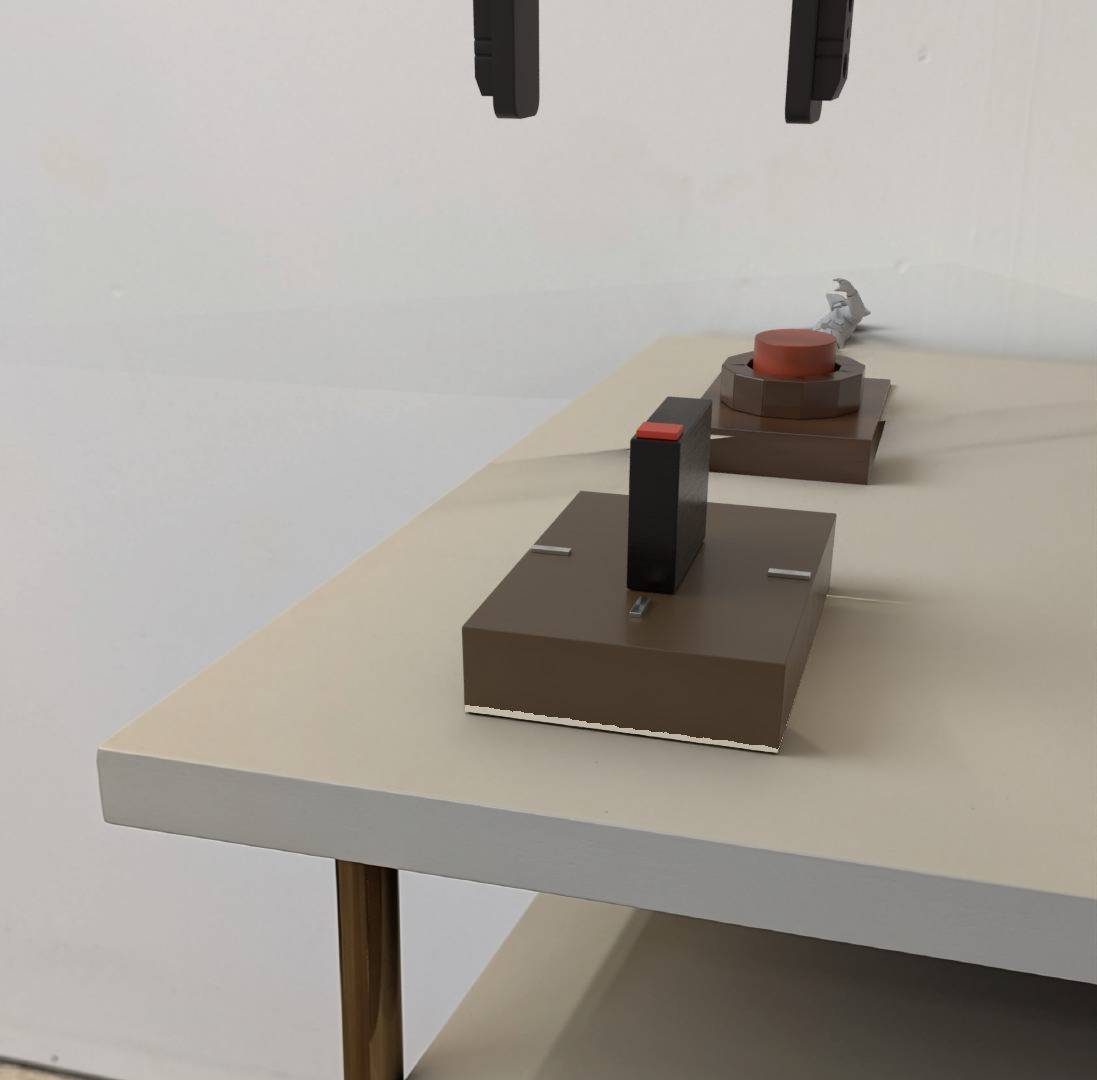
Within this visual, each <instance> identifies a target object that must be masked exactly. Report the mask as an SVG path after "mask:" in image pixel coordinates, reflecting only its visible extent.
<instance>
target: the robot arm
mask: <svg viewBox="0 0 1097 1080" xmlns="http://www.w3.org/2000/svg"><path fill="white" fill-rule="evenodd" d="M854 6H855V0H791V13H790V27H789V29H790V30H789V43H788V56H787V58H788V59H787V70H786V75H787V76H786V87H785V99H784V100H785V101H784V121H785V124H788V125H789V124H790V125H813V124H815V123H817V122H819V121H820V118H821V114H822V109H823V102H831V101H834V100H836V99H839V98H840V95H841V93H842V91H843V89H844V87H845V84H846V82H847V80H848V75H849V65H850V53H851V37H852V30H853V28H852V27H853V18H854ZM472 17H473V19H472V20H473V22H472V23H473V39H474V41H473V53H474V56H473V57H474V60H473V61H474V79H475V82H476V85H477V88H478V90H479V93H480V95H481V97H492V109H493V112H494V115H495V117H496V119H503V120H506V119H508V120H522V119H527V118H531V117H535V116H536V115H537V114H538V112H539V107H540V94H541V93H540V0H472Z"/></svg>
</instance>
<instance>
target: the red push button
mask: <svg viewBox="0 0 1097 1080" xmlns="http://www.w3.org/2000/svg"><path fill="white" fill-rule="evenodd" d="M753 344H754V345H753V351H754V357H753V370H754V371H758V372H763V373H768V374H772V375H786V376H815V375H826V374H829V373H833V372H834V368H835V357H836V355H837V352H836V346H837V338H836V337H835V336H833V335H832V333H831V334H828V333H825V332H820V331H814V330H813V329H803V328H776V329H768V330H764V331H761V332H758V333H756V334H755V337H754V343H753Z"/></svg>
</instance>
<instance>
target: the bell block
mask: <svg viewBox="0 0 1097 1080" xmlns="http://www.w3.org/2000/svg"><path fill="white" fill-rule="evenodd" d="M753 357H754V350H752V351H747V352H742V353H739V354H735V355H730V356H728V357H727V358H726V359H725V360H724V361H723V363H722V364H721V368H720V369H721V370H720V372H719V374H718V375H717V376H716V377H715V379H714V380H713V381H712V383H710V385H709V386H708V388H707V389H706V391H705V392H704V393H703V394H702V396H701V397H700V398H699V399H711V400H712V420H711V435H713V436H722V437H716V438H711V439H710V458H709V473H715V474H725V475H726V474H728V475H740V476H752V477H753V476H754V477H763V478H775V479H789V480H797V481H798V480H800V481H810V482H822V483H823V482H824V483H835V484H846V485H847V484H848V485H857V486H858V485H860V486H867V485H868V484H869V480H870V477H871V474H872V470H873V466H874V463H875V461H876V457H877V453H878V449H879V446H880V443H881V440H882V436H883V432H884V429H885V425H886V422H887V420H881V418H882V417H881V416H882V414H883V410H884V408H885V404H886V401H887V397H888V394H889V392H890V388H891V382H892V380H891V379H888V378H887V379H886V378H874V377H873V378H872V377H866V364H863V363H861V362H860V361H857V360H855V359H854V358H852V357H850V356H845V355H840V354H836V357H835V368H834V372H833V373H829V374H826V375H815V376H786V375H772V374H768V373H763V372H758V371H754V370H753ZM723 436H725V437H723Z"/></svg>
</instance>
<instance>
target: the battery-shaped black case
mask: <svg viewBox="0 0 1097 1080" xmlns="http://www.w3.org/2000/svg"><path fill="white" fill-rule="evenodd" d="M711 420H712V400H711V399H700V398H698V397H697V398H696V397H695V398H694V397H683V396H682V397H681V396H666V397H665V398H664V400H663V401H662V402H661V403H660V405H659V406H658V407H657V408H656V409H655V410H654V411H653V412H652V414H651V415H650V416H649V417H648V418H647V420H646V421H643V422H642V423H641V424H640V425H639V426H638V428H637V429H636V431H635V434H634V435H633V436H632V437H631V438H630V440H629V471H628V472H629V473H628V495H629V506H628V545H627V585H626V587H627V588H628V589H636V590H645V591H655V592H664V593H674V592H675V590H676V588H677V587H678V585H679V583H680V581H681V579H682V578H683V576H684V574H685V572H686V571H687V569H688V567H689V565H690V564H691V562H692V560H693V558H694V556H695V555H696V553H697V551H698V549H699V548H700V546H701V544H702V542H703V541H704V539H705V534H706V515H707V502H708V496H709V495H708V493H709V474H710V472H709V458H710V439H712V437H711Z"/></svg>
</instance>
